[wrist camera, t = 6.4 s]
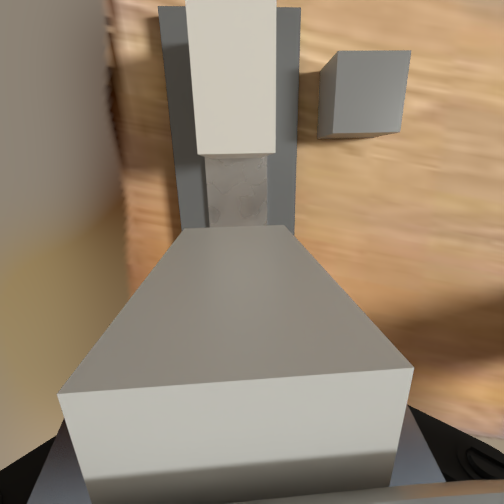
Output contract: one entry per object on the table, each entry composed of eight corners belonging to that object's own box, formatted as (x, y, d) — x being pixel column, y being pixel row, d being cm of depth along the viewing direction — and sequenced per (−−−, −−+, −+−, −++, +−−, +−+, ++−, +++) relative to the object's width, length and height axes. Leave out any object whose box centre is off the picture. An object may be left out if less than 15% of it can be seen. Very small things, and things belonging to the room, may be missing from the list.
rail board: (296, 16, 20) (300, 7, 19) (287, 378, 30) (289, 386, 29) (162, 15, 19) (157, 6, 18) (200, 383, 30) (199, 392, 29)
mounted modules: (259, 38, 19) (276, -50, 11) (263, 376, 28) (273, 454, 20) (203, 38, 18) (181, -52, 11) (225, 378, 28) (222, 458, 20)
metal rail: (265, 32, 19) (266, 30, 19) (267, 376, 29) (267, 379, 28) (196, 32, 19) (195, 29, 18) (221, 379, 28) (221, 382, 28)
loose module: (283, 224, 11) (414, 367, 3) (281, 381, 13) (349, 676, 6) (180, 228, 10) (42, 395, 3) (197, 387, 13) (148, 706, 5)
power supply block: (379, 71, 21) (411, 50, 18) (372, 137, 23) (400, 132, 19) (319, 71, 21) (338, 50, 17) (316, 138, 23) (332, 133, 19)
